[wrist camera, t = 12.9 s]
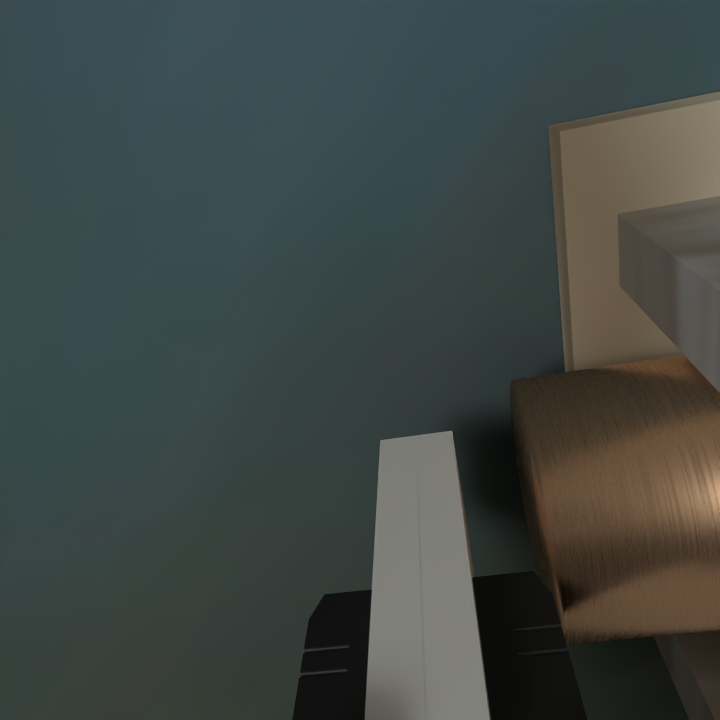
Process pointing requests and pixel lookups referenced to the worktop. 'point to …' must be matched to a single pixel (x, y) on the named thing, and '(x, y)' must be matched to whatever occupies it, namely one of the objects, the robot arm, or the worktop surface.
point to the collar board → (645, 274)
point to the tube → (623, 496)
